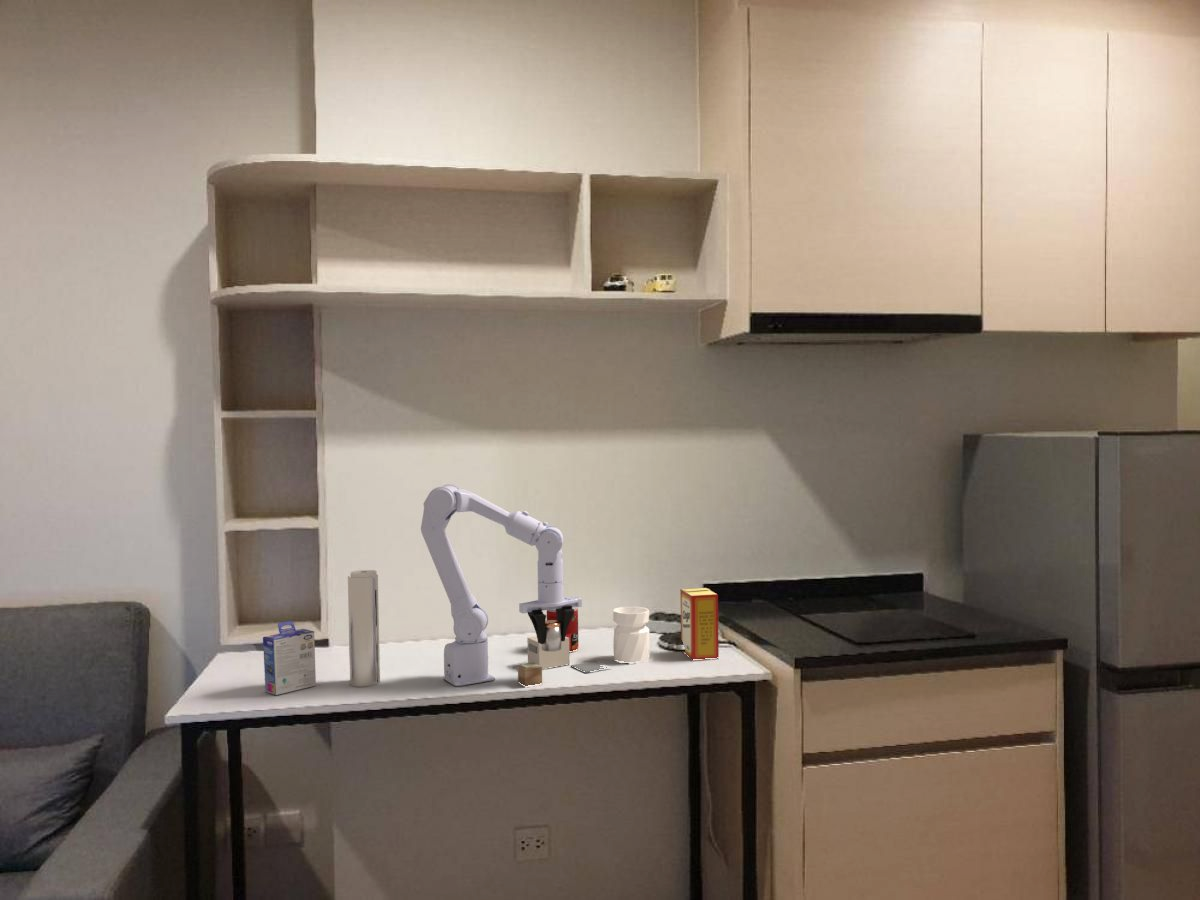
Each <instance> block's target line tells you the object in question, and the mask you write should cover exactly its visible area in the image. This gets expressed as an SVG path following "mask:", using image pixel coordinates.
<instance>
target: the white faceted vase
mask: <svg viewBox="0 0 1200 900" xmlns="http://www.w3.org/2000/svg"><path fill="white" fill-rule="evenodd" d="M612 617H613V618H612V620H613V622H614V623H616V624H617V626H616V627H614V628H613V660H614V659H615V660H618V661H624V662H636V661H644V660H647V659H648V658H649V657H650V628H649V627H647V626H646V624H647V623H648V622H650V609H648V607H647V608H646V607H641V606H621V607H616V608H613V613H612ZM650 658H651V657H650ZM650 658H649V659H650ZM615 660H614V661H615Z"/></svg>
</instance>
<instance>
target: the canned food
mask: <svg viewBox="0 0 1200 900" xmlns="http://www.w3.org/2000/svg"><path fill="white" fill-rule="evenodd" d="M572 609H574V615H573V617H572V619H571V621H570V623H569V626H568V629H567V633H566V637H568V638H569V651H573V650H576V649H579V607H572ZM547 620H557V614H556V609H552V610H546V621H547Z"/></svg>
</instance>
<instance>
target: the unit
mask: <svg viewBox="0 0 1200 900" xmlns="http://www.w3.org/2000/svg"><path fill="white" fill-rule="evenodd" d="M526 641H527V663H533V662H534V663H536V664H537V665H539V666H541V667H542V669H545V668H549V667H555V666H560V665H566V664H570V653H569V638H568V637H565V641H561V650H559V651H543V650H542V644H540V643H538V639H537V635H535V636H531V637H530V636H529V637H527V640H526ZM545 670H546V669H545Z"/></svg>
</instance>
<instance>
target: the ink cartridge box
mask: <svg viewBox="0 0 1200 900" xmlns="http://www.w3.org/2000/svg"><path fill="white" fill-rule="evenodd" d="M284 626H291V627H287V628H283V627H284ZM277 628H278V633H276V634H271V635H265V636H263V637H262V646H263V647H262V648H263V649H262V651H263V665H264V667H263V668H264V671H263V672H264V686H265V687H264V689H265V690H264V691H266V693H268V694H270V693H271V694H270V695H273V696H279V695H282V694H287V693H290V692H291V693H292V692H295V691H299V690H304V689H307V688H311V687H315V686H317V681H316V649H315V648H316V647H315V645H316V644H315V631H314V630H309V629H306V628H300V629H296V627H295V624H294V621H293V620H290V621H285V622H284V621H282V622H279V623H277Z"/></svg>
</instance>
